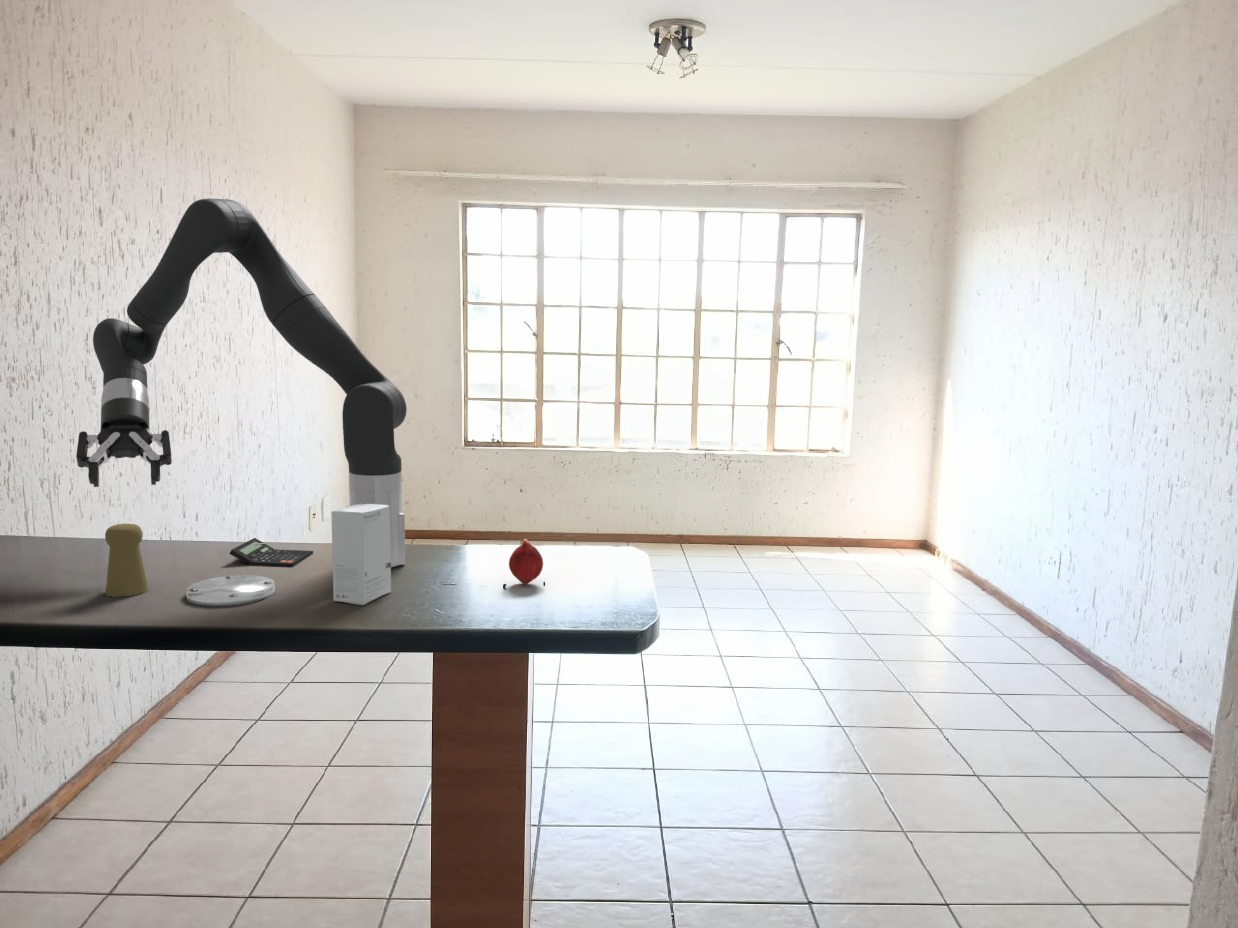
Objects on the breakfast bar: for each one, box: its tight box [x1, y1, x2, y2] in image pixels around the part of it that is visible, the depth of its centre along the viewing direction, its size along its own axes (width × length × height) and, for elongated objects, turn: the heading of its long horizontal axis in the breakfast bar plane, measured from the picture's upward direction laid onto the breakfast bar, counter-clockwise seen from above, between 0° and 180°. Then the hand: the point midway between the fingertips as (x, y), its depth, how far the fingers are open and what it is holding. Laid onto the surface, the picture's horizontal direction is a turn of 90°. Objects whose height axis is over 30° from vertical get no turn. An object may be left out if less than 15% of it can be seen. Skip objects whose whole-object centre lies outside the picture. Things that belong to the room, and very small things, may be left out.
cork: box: [104, 523, 149, 598], centre depth 139 cm, size 6×6×11 cm
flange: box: [185, 574, 276, 607], centre depth 140 cm, size 13×13×1 cm
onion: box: [508, 538, 544, 586], centre depth 150 cm, size 6×6×8 cm
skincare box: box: [330, 504, 392, 606], centre depth 140 cm, size 8×6×15 cm
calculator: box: [229, 537, 314, 568], centre depth 161 cm, size 9×12×3 cm
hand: (125, 483), depth 148 cm, fingers open, 8 cm apart
